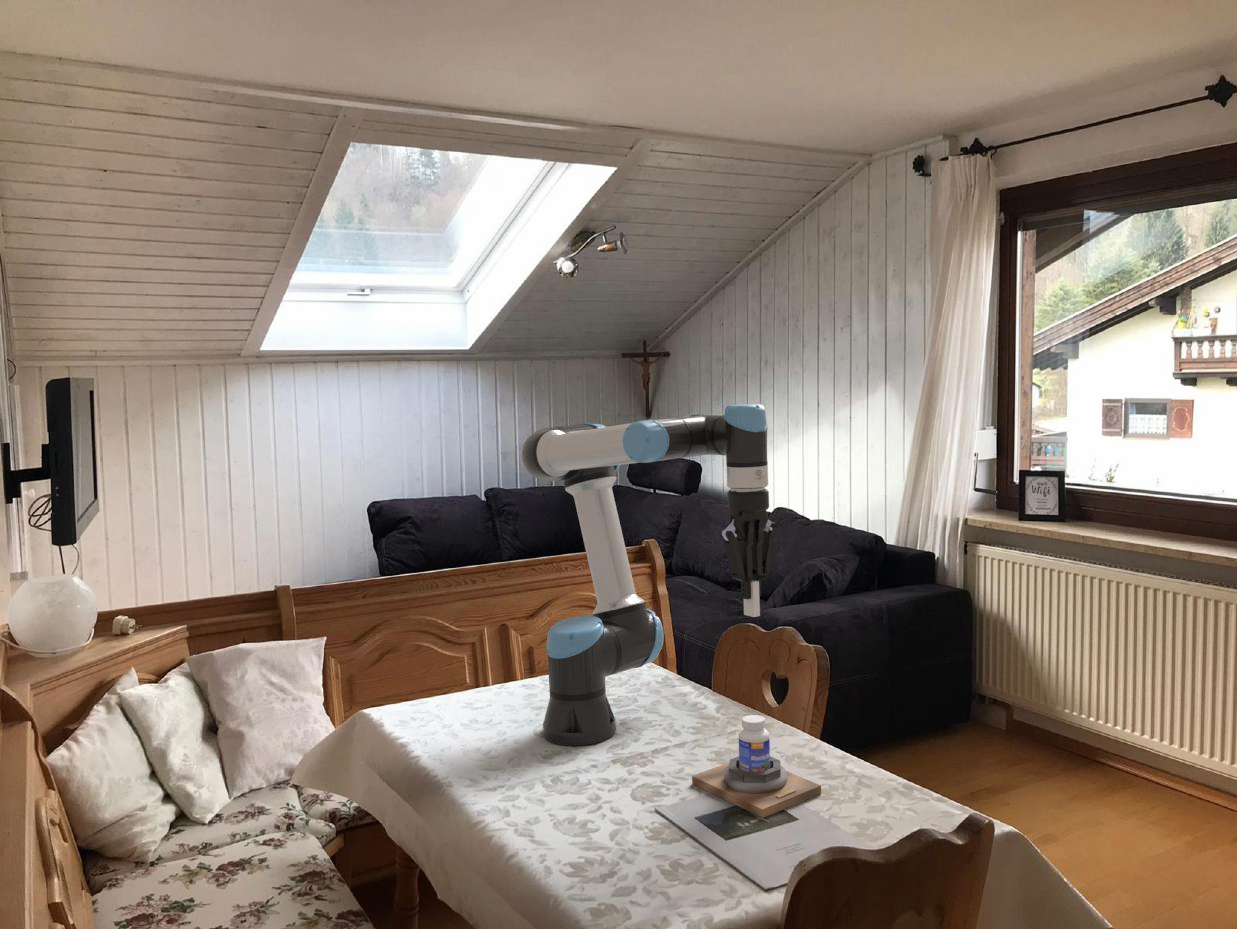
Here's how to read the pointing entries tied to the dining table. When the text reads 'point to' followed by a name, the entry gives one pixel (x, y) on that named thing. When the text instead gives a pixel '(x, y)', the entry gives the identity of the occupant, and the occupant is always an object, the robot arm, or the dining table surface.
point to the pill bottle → (754, 745)
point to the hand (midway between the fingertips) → (751, 615)
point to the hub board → (757, 799)
